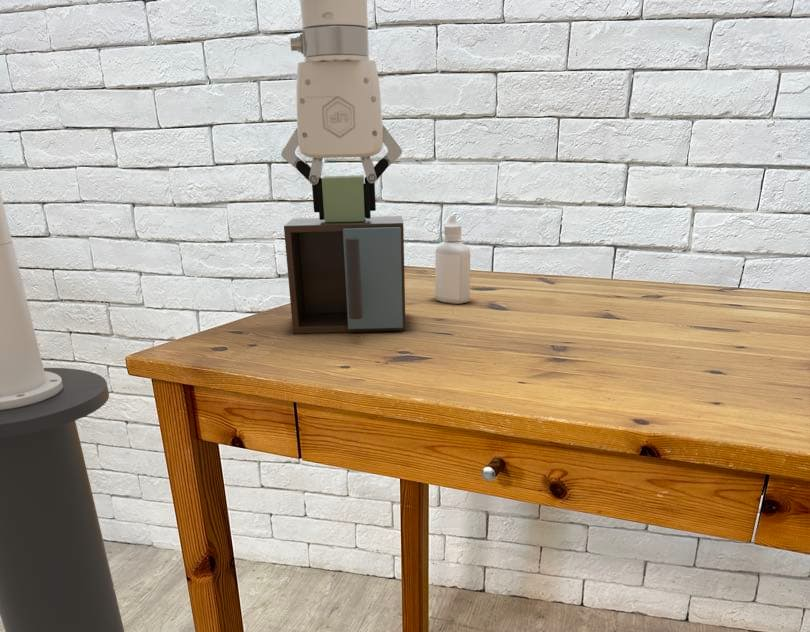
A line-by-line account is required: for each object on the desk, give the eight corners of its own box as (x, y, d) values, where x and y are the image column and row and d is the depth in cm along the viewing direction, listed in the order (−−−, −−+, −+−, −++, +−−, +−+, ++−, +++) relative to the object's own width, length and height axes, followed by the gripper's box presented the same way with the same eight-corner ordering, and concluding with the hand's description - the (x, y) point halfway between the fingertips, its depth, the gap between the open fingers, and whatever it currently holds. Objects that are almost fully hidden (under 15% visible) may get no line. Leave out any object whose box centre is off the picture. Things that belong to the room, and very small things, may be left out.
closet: (405, 330, 100) (403, 223, 93) (293, 333, 99) (283, 225, 93) (404, 316, 108) (402, 215, 101) (300, 318, 107) (291, 218, 101)
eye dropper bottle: (443, 305, 113) (444, 218, 108) (433, 298, 118) (433, 214, 113) (471, 303, 114) (473, 216, 109) (460, 296, 119) (461, 213, 113)
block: (364, 221, 95) (362, 177, 93) (324, 222, 95) (321, 178, 93) (365, 217, 100) (363, 175, 97) (327, 218, 100) (324, 176, 97)
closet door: (403, 338, 93) (401, 232, 88) (346, 339, 93) (340, 234, 88) (402, 326, 99) (400, 226, 93) (348, 328, 99) (343, 228, 93)
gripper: (257, 47, 85) (274, 223, 94) (410, 43, 85) (413, 219, 94) (267, 53, 92) (281, 217, 100) (408, 49, 92) (411, 213, 101)
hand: (345, 216), depth 97 cm, fingers closed on block, 5 cm apart
